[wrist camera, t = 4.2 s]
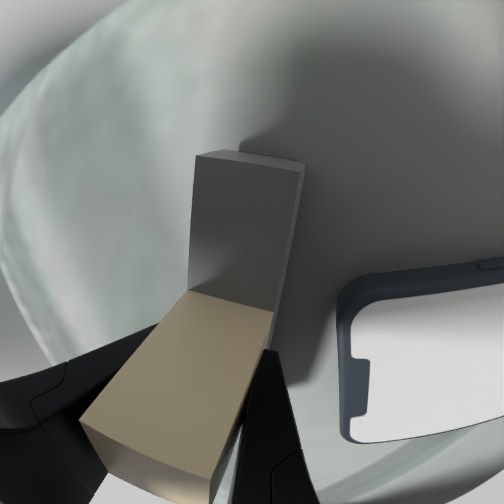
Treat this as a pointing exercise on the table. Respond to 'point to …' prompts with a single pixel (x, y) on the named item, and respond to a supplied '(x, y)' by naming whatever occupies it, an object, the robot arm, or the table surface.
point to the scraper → (204, 334)
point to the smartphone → (421, 351)
